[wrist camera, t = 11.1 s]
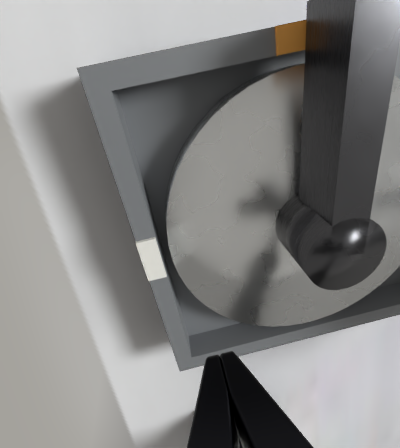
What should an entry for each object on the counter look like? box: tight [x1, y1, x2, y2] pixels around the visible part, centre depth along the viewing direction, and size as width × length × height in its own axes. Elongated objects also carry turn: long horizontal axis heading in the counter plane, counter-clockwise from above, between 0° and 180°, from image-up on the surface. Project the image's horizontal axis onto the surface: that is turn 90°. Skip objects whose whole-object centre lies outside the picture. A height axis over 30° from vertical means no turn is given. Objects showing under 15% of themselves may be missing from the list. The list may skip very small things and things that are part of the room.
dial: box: [165, 0, 400, 327], centre depth 14 cm, size 17×15×5 cm
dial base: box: [77, 20, 400, 371], centre depth 17 cm, size 18×18×4 cm
